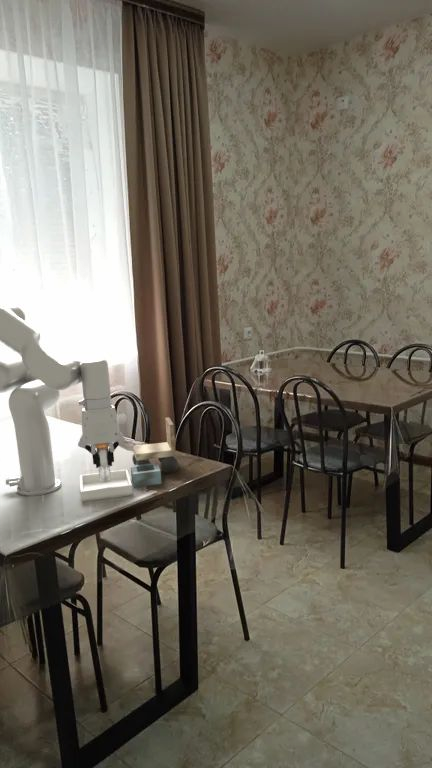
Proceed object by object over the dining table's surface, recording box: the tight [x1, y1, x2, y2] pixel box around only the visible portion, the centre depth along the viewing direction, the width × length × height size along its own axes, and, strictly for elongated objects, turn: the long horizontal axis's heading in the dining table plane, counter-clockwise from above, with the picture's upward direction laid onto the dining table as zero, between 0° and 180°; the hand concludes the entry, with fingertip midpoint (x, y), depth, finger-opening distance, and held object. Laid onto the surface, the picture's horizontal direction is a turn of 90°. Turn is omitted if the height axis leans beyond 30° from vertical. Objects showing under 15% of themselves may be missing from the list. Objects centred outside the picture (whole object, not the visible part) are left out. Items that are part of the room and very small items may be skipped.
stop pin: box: [96, 443, 111, 483], centre depth 180 cm, size 4×4×12 cm
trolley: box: [130, 417, 179, 488], centre depth 191 cm, size 14×19×15 cm
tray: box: [79, 469, 133, 503], centre depth 181 cm, size 14×14×3 cm
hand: (104, 465), depth 180 cm, fingers closed on stop pin, 3 cm apart
